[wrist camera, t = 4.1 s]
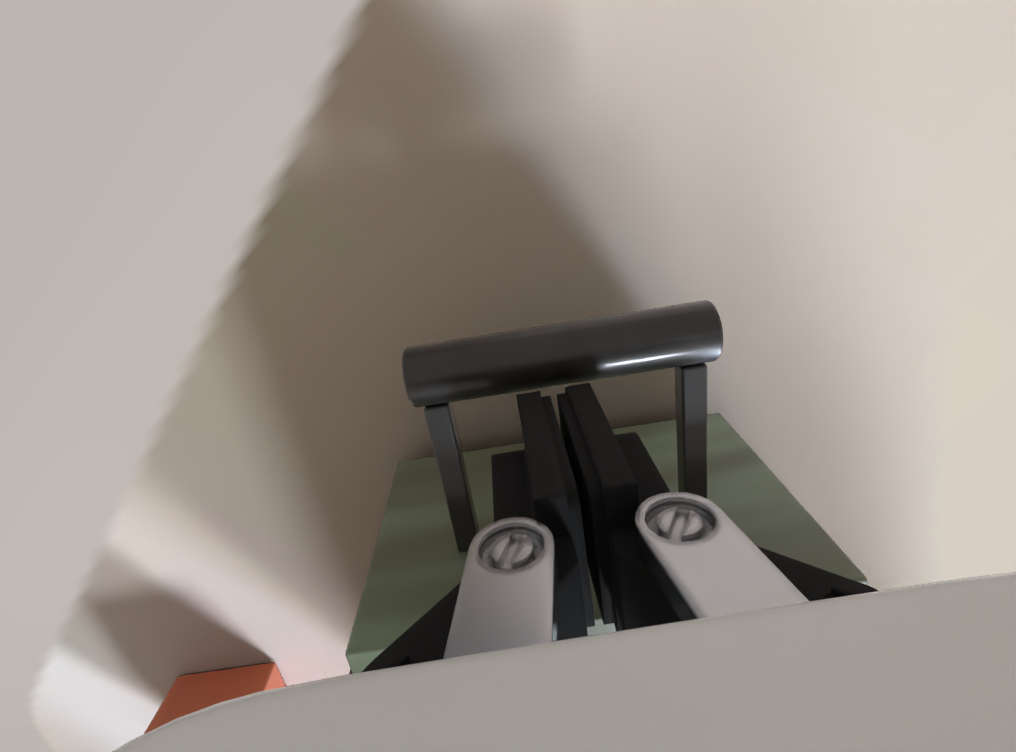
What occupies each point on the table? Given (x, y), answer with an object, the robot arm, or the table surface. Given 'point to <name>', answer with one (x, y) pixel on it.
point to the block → (214, 690)
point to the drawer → (468, 475)
